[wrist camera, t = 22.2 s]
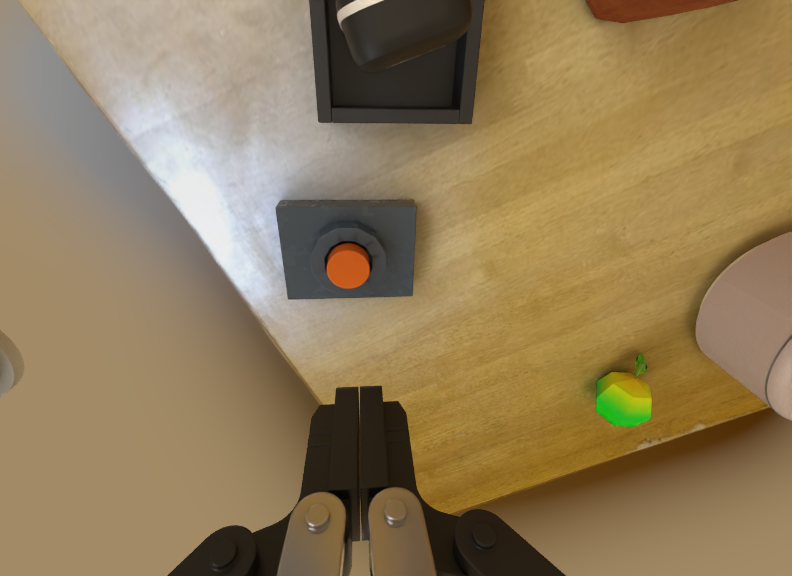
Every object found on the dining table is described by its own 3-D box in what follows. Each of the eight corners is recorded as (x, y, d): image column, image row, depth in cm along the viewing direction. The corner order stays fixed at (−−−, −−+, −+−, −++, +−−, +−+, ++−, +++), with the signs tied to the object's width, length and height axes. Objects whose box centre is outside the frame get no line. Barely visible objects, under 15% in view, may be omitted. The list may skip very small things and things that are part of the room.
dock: (322, 118, 31) (318, 122, 28) (309, -69, 26) (302, -90, 22) (460, 119, 32) (471, 124, 29) (476, -61, 27) (492, -79, 23)
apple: (636, 450, 43) (673, 392, 39) (579, 420, 46) (607, 363, 42) (642, 414, 49) (676, 359, 44) (591, 390, 52) (617, 336, 47)
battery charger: (358, 79, 29) (357, 80, 20) (339, 23, 28) (327, -9, 18) (444, 46, 29) (489, 29, 19) (431, -14, 27) (472, -68, 17)
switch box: (291, 288, 38) (284, 309, 35) (280, 200, 34) (270, 214, 31) (410, 285, 39) (415, 305, 36) (413, 199, 35) (419, 212, 31)
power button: (329, 280, 34) (328, 289, 33) (326, 242, 32) (325, 250, 31) (369, 279, 34) (370, 288, 33) (369, 242, 33) (369, 250, 31)
